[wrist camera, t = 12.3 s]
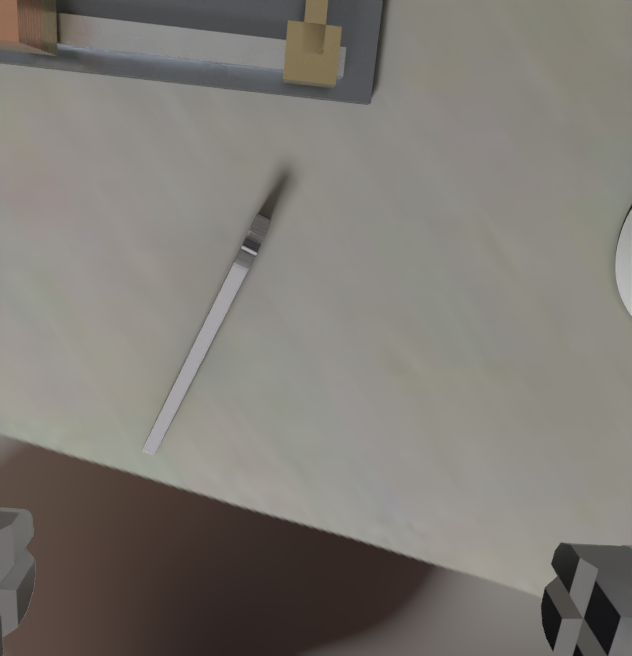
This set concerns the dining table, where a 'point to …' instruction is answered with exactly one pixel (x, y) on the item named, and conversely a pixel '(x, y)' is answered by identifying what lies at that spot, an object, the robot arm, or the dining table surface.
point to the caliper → (208, 330)
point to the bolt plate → (231, 23)
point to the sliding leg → (28, 26)
